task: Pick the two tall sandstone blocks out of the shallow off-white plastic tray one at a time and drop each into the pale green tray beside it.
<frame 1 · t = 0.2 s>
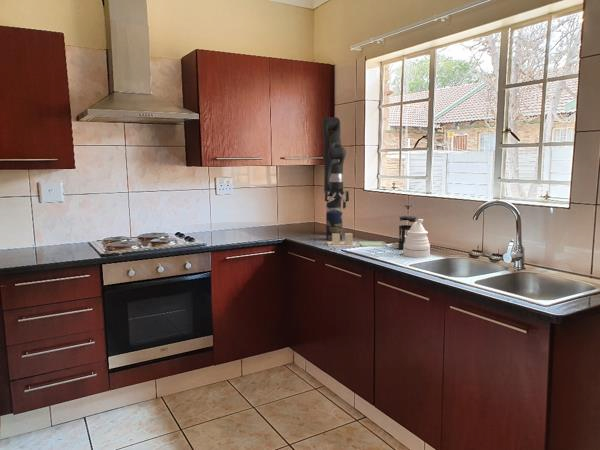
hand: (336, 208, 286), 18 cm above the worktop, tool pointing down, fingers open, 8 cm apart
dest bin: (372, 245, 265), on the worktop
honey pot: (416, 255, 238), on the worktop
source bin: (342, 245, 264), on the worktop
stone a: (335, 244, 264), resting on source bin
french press: (407, 248, 255), on the worktop
stone b: (348, 244, 264), resting on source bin
canister: (334, 240, 281), on the worktop
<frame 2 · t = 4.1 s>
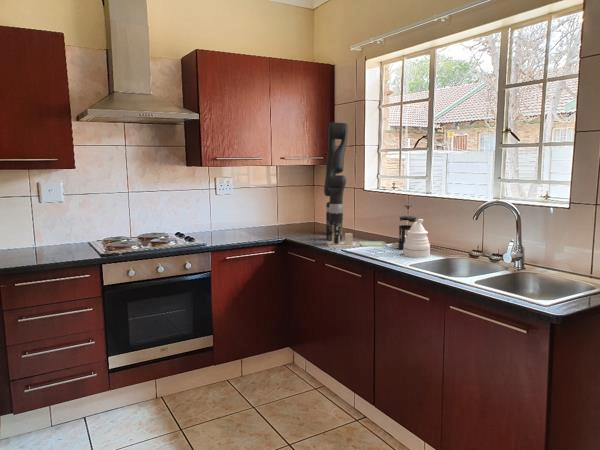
hand: (335, 242, 264), 1 cm above the worktop, tool pointing down, fingers closed on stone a, 4 cm apart
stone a: (335, 244, 264), resting on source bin, touching gripper
everything else where it was.
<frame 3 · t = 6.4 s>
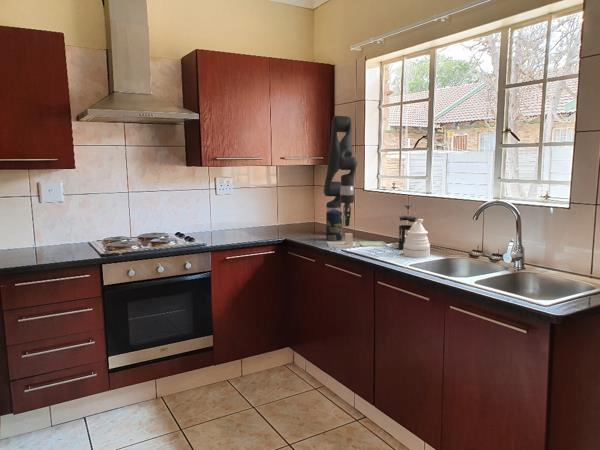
hand: (346, 225, 263), 11 cm above the worktop, tool pointing down, fingers closed on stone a, 4 cm apart
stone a: (346, 227, 263), point 10 cm above the worktop, touching gripper
everything else where it was.
when the fingers open (3 cm above the worktop, at t = 8.8 s): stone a drops 1 cm, resting on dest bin.
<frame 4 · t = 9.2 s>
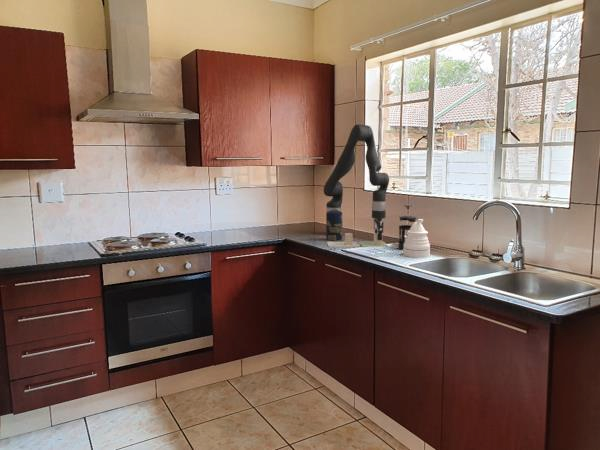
hand: (378, 238, 264), 3 cm above the worktop, tool pointing down, fingers open, 7 cm apart
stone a: (378, 244, 265), resting on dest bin
everything else where it was.
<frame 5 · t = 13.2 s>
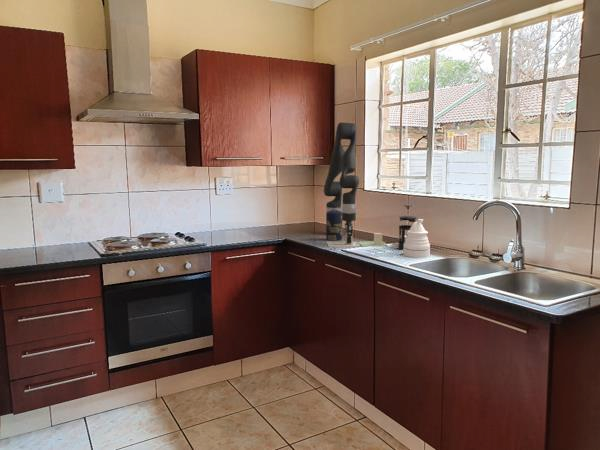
hand: (348, 242, 264), 1 cm above the worktop, tool pointing down, fingers closed on stone b, 4 cm apart
stone b: (348, 244, 264), resting on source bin, touching gripper
everything else where it was.
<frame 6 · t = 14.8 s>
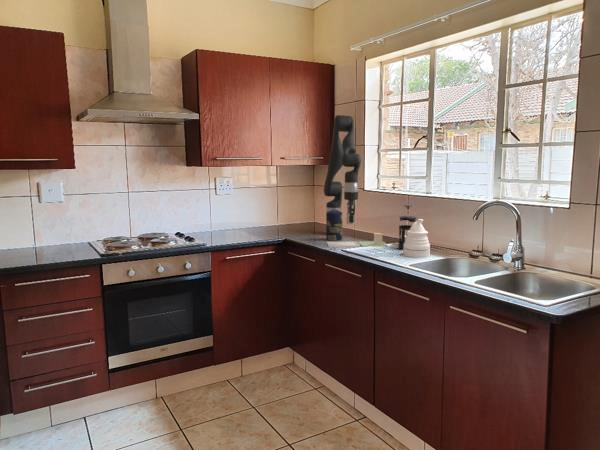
hand: (350, 222, 262), 13 cm above the worktop, tool pointing down, fingers closed on stone b, 4 cm apart
stone b: (350, 223, 263), point 12 cm above the worktop, touching gripper
everything else where it was.
when the fingers open (3 cm above the worktop, at t = 16.6 s): stone b drops 1 cm, resting on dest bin.
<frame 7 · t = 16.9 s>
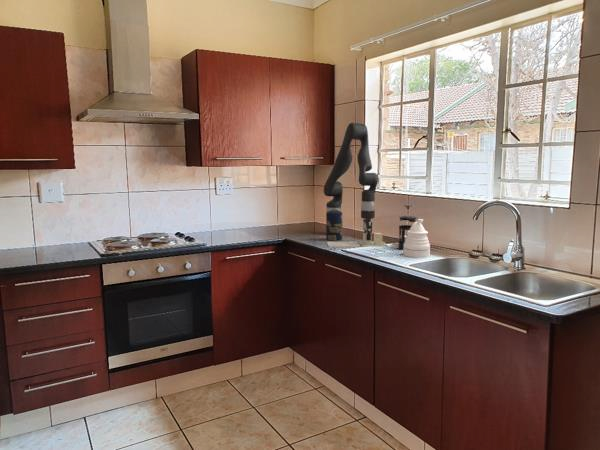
hand: (367, 239, 264), 3 cm above the worktop, tool pointing down, fingers open, 7 cm apart
stone b: (367, 244, 265), resting on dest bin
everything else where it was.
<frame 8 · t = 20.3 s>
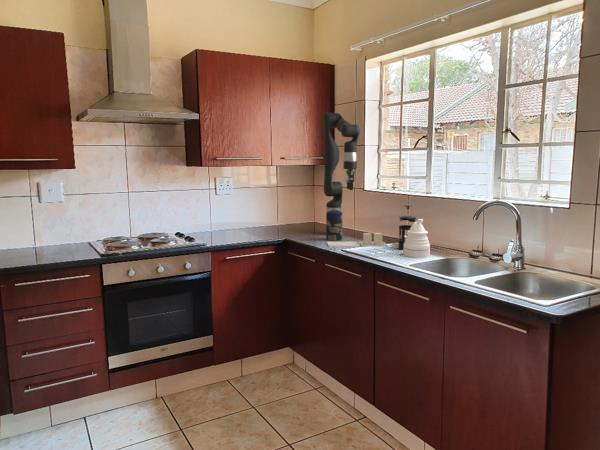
hand: (349, 189, 271), 30 cm above the worktop, tool pointing down, fingers open, 8 cm apart
nothing on the worktop moved.
at the end: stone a inside the target area on the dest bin (3.0 cm from its centre), point 0.4 cm above the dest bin's base; stone b inside the target area on the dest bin (3.0 cm from its centre), point 0.4 cm above the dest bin's base; the gripper is holding nothing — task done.
